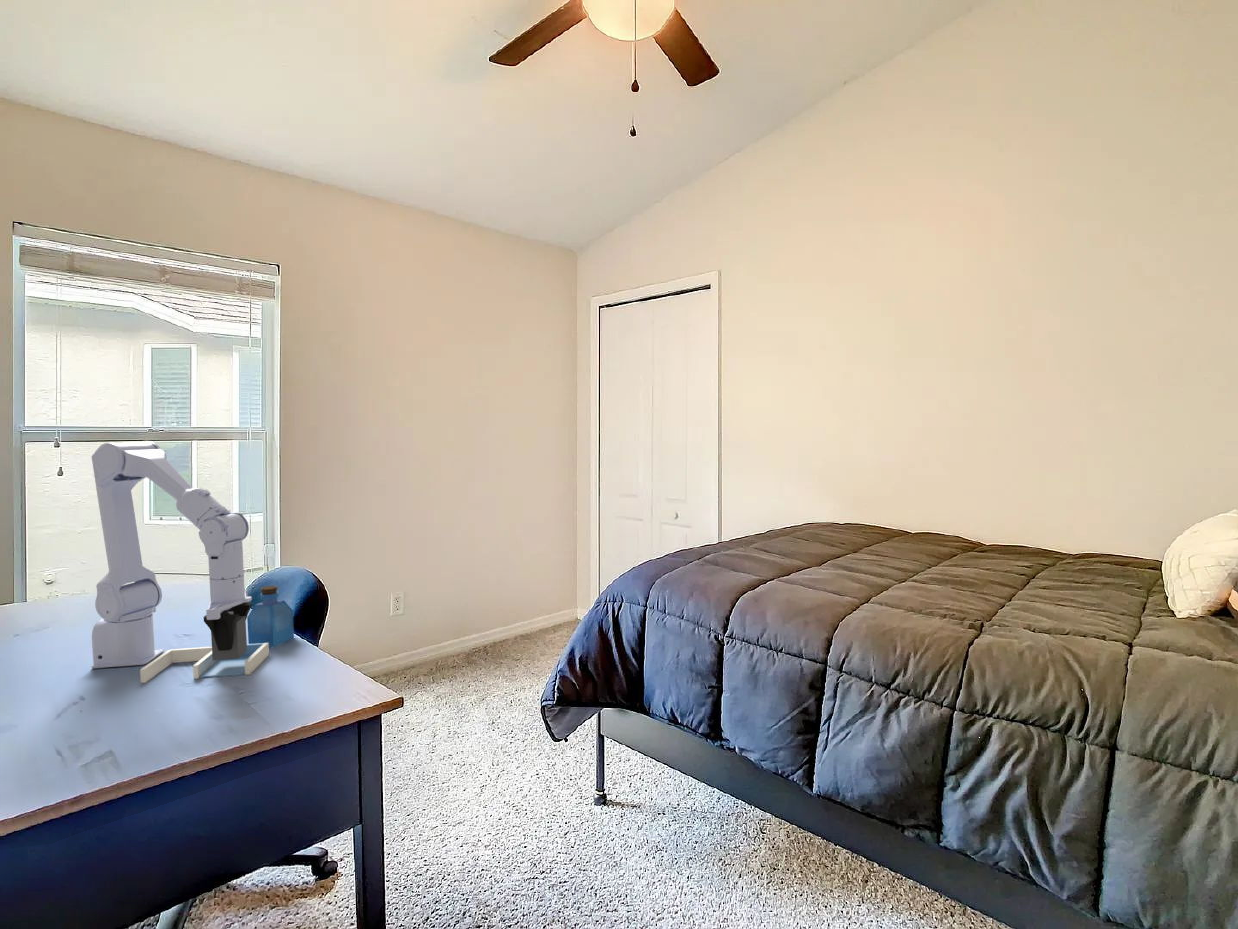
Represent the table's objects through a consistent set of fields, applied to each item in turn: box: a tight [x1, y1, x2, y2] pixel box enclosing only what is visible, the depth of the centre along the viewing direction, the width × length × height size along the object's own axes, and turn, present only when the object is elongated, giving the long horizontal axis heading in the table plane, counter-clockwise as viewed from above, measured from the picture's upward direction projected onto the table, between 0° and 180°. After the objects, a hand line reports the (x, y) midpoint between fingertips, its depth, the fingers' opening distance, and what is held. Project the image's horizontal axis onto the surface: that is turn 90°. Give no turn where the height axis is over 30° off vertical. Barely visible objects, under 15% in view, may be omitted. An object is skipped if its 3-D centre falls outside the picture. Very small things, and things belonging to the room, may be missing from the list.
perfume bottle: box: [246, 585, 295, 648], centre depth 141 cm, size 6×6×12 cm
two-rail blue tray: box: [139, 643, 270, 684], centre depth 126 cm, size 18×11×2 cm, turn 101°
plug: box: [210, 611, 248, 660], centre depth 126 cm, size 4×4×8 cm
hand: (230, 645), depth 126 cm, fingers closed on plug, 4 cm apart
